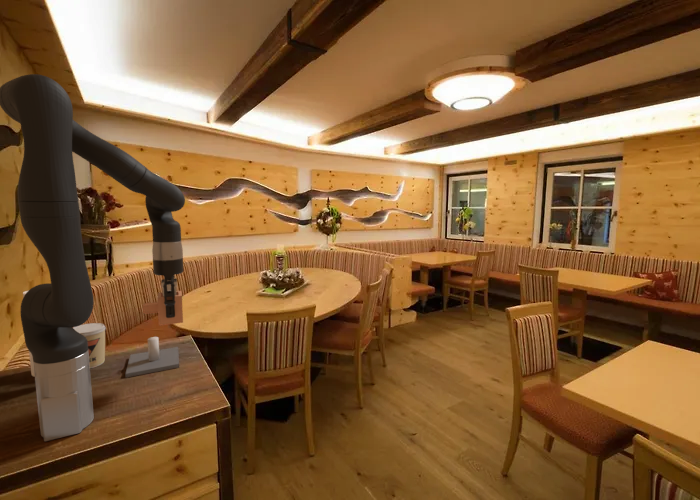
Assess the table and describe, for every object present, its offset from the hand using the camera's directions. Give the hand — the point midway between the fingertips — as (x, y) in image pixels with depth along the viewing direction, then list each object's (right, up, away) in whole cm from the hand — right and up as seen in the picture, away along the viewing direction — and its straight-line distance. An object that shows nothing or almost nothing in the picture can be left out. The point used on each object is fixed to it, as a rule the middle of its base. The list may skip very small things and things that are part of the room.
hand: (170, 313), depth 93 cm
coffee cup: (-31, -18, +9) cm, 37 cm away
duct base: (-11, -18, +11) cm, 24 cm away
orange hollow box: (-2, -2, -1) cm, 3 cm away
